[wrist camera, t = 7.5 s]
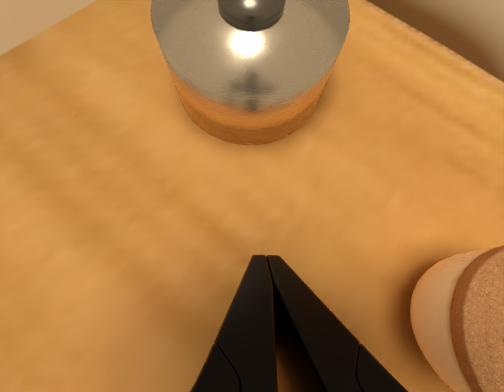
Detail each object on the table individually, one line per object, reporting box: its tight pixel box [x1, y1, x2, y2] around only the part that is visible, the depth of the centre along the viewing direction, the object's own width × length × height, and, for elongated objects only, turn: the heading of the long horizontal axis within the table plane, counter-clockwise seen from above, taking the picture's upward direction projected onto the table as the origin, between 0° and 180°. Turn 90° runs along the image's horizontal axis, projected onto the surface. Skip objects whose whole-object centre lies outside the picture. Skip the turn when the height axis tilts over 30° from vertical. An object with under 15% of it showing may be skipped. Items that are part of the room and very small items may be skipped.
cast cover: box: [151, 0, 350, 145], centre depth 22 cm, size 15×15×9 cm
